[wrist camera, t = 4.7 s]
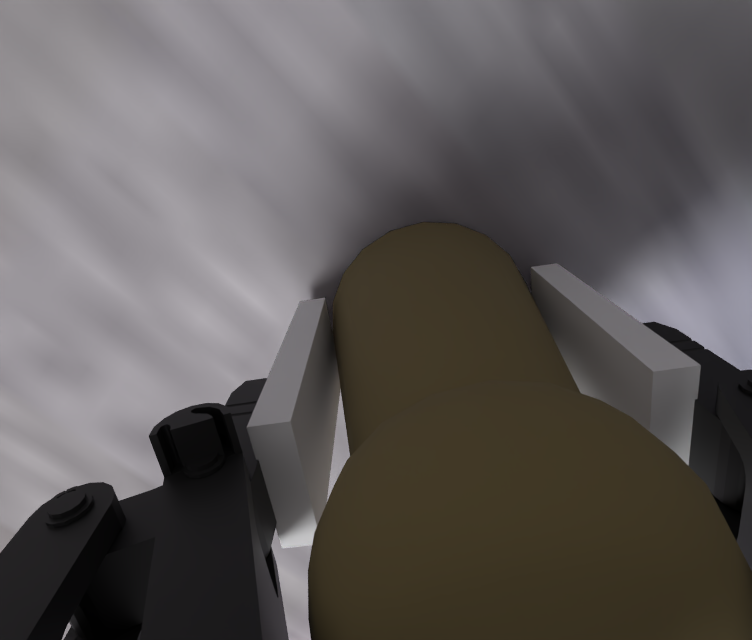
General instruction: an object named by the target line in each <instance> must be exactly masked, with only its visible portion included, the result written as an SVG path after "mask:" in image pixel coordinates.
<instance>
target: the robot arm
mask: <svg viewBox="0 0 752 640" xmlns="http://www.w3.org/2000/svg"><path fill="white" fill-rule="evenodd" d="M531 289H532V297H533V299H534V301H535V303H536V305H537V307H538V309H539V311H540V313H541V315H542V317H543V319H544V321H545V323H546V325H547V327H548V329H549V331H550V333H551V335H552V337H553V339H554V341H555V343H556V345H557V347H558V349H559V351H560V353H561V355H562V357H563V359H564V361H565V363H566V365H567V367H568V369H569V371H570V373H571V375H572V377H573V379H574V381H575V383H576V385H577V387H578V389H579V391H580V393H581V394H584V395H587V396H590V397H593V398H596V399H599V400H601V401H603V402H605V403H607V404H609V405H611V406H612V407H614V408H616V409H618V410H620V411H622V412H623V413H625V414H627V415H629V416H631V417H632V418H633V419H635V420H636V421H637V422H638V423H639V424H641V425H642V426H643V427H644V428H646V429H647V430H648V431H649V432H651V433H652V434H653V435H654V436H656V437H657V438H658V439H659V440H661V441H662V442H663V443H664V444H666V445H667V446H668V447H669V448H671V449H672V450H673V451H674V452H675V453H676V454H677V455H678V456H679V457H680V458H681V459H682V460H683V461H684V462H685V463H686V464H687V465H688V466H689V467H690V468H691V469H692V470H693V471H694V472H695V473H696V474H697V475H698V476H699V477H700V478H701V479H702V480H703V481H704V482H705V483H706V484H707V486H708V488H709V490H710V492H711V494H712V495H713V497H714V499H715V501H716V503H717V505H718V507H719V509H720V511H721V513H722V515H723V516H724V518H725V520H726V522H727V524H728V526H729V528H730V530H731V532H732V534H733V536H734V538H735V540H736V542H737V543H738V545H739V547H740V549H741V551H742V553H743V555H744V557H745V559H746V561H747V563H748V565H749V567H750V569H751V571H752V370H742V371H740V370H739V369H737V368H736V367H734V366H733V365H731V364H729V363H728V362H726V361H725V360H723V359H722V358H720V357H719V356H717V355H716V354H714V353H712V352H711V351H709V350H708V349H704V347H703V346H702V345H700V344H699V343H697V342H696V341H692V340H691V338H689V337H688V336H686V335H685V334H683V333H682V332H680V331H679V330H677V329H675V328H672V327H669V326H666V325H662V324H659V323H656V322H649V323H641V322H639V321H638V320H636V319H635V318H634V317H632V316H631V315H629V314H628V313H627V312H625V311H624V310H622V309H621V308H620V307H618V306H617V305H615V304H614V303H613V302H611V301H610V300H608V299H607V298H605V297H604V296H603V295H601V294H600V293H598V292H597V291H596V290H594V289H593V288H591V287H590V286H589V285H587V284H586V283H584V282H583V281H582V280H580V279H579V278H577V277H576V276H575V275H573V274H572V273H570V272H569V271H567V270H566V269H565V268H563V267H562V266H560V265H559V264H558V263H555V264H548V265H541V266H534V267H531ZM340 388H341V387H340V380H339V373H338V366H337V359H336V352H335V345H334V339H333V334H332V329H331V324H330V319H329V314H328V309H327V304H326V299H325V298H319V299H312V300H306V301H300V302H299V305H298V307H297V310H296V312H295V314H294V317H293V319H292V321H291V324H290V326H289V328H288V331H287V333H286V335H285V338H284V340H283V343H282V345H281V347H280V350H279V352H278V354H277V357H276V359H275V361H274V364H273V366H272V368H271V371H270V373H269V376H268V378H264V379H257V380H250V381H245V382H244V383H243V384H242V385H241V386H239V387H238V388H237V389H236V390H235V391H233V392H232V393H231V395H230V397H229V399H228V401H227V403H226V405H225V406H224V405H222V404H219V403H205V404H199V405H194V406H190V407H188V408H185V409H182V410H179V411H177V412H175V413H173V414H172V415H170V416H168V417H166V418H164V419H163V420H162V421H161V422H159V423H158V424H157V425H156V426H155V427H154V428H153V430H152V431H151V433H150V435H149V438H150V441H151V444H152V446H153V449H154V452H155V454H156V457H157V459H158V462H159V465H160V467H161V470H162V473H163V475H164V482H163V486H160V487H158V488H155V489H153V490H150V491H147V492H144V493H141V494H138V495H135V496H132V497H129V498H126V499H123V500H120V501H118V499H117V496H116V494H115V492H114V489H113V487H112V486H111V485H109V484H106V483H104V482H100V483H88V484H84V485H81V486H75V487H72V488H70V489H67V491H63V492H61V493H59V494H57V495H56V496H55V497H54V498H52V499H51V500H49V501H48V502H46V503H45V504H43V505H42V506H41V507H40V508H39V509H38V510H36V511H35V512H34V513H33V514H32V515H31V516H30V517H29V518H28V520H27V521H26V522H25V523H24V525H23V526H22V527H21V528H20V529H19V531H18V532H17V533H16V534H15V536H14V537H13V538H12V539H11V541H10V542H9V543H8V544H7V545H6V547H5V548H4V549H3V550H2V552H1V553H0V640H62V637H63V634H64V632H65V629H66V626H67V624H68V623H69V622H70V624H71V628H70V629H69V631H68V633H67V635H66V637H65V638H64V640H289V639H288V633H287V626H286V620H285V614H284V607H283V601H282V595H281V588H280V582H279V576H278V570H277V564H276V561H275V557H274V554H273V551H272V547H271V544H272V540H273V536H274V532H275V528H276V530H277V533H278V536H279V540H280V543H281V547H282V549H283V548H291V547H299V546H307V545H312V544H313V538H314V532H315V530H316V528H317V525H318V523H319V520H320V518H321V516H322V513H323V511H324V509H325V506H326V502H327V494H328V486H329V478H330V470H331V461H332V453H333V445H334V437H335V429H336V420H337V412H338V404H339V396H340Z"/></svg>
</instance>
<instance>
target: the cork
mask: <svg viewBox="0 0 752 640" xmlns="http://www.w3.org/2000/svg"><path fill="white" fill-rule="evenodd" d="M333 338H334V345H335V352H336V359H337V366H338V373H339V380H340V387H341V394H342V401H343V408H344V415H345V422H346V430H347V437H348V444H349V451H350V457H349V458H348V460H347V461H346V463H345V465H344V467H343V469H342V471H341V473H340V475H339V477H338V479H337V481H336V483H335V485H334V487H333V490H332V492H331V494H330V497H329V499H328V502H327V504H326V506H325V509H324V511H323V513H322V516H321V518H320V520H319V523H318V525H317V528H316V530H315V532H314V538H313V544H312V550H311V556H310V562H309V568H308V608H309V626H310V634H311V640H752V571H751V569H750V567H749V565H748V563H747V561H746V559H745V557H744V555H743V553H742V551H741V549H740V547H739V545H738V543H737V542H736V540H735V538H734V536H733V534H732V532H731V530H730V528H729V526H728V524H727V522H726V520H725V518H724V516H723V515H722V513H721V511H720V509H719V507H718V505H717V503H716V501H715V499H714V497H713V495H712V494H711V492H710V490H709V488H708V486H707V484H706V483H705V482H704V481H703V480H702V479H701V478H700V477H699V476H698V475H697V474H696V473H695V472H694V471H693V470H692V469H691V468H690V467H689V466H688V465H687V464H686V463H685V462H684V461H683V460H682V459H681V458H680V457H679V456H678V455H677V454H676V453H675V452H674V451H673V450H672V449H671V448H669V447H668V446H667V445H666V444H664V443H663V442H662V441H661V440H659V439H658V438H657V437H656V436H654V435H653V434H652V433H651V432H649V431H648V430H647V429H646V428H644V427H643V426H642V425H641V424H639V423H638V422H637V421H636V420H635V419H633V418H632V417H631V416H629V415H627V414H625V413H623V412H622V411H620V410H618V409H616V408H614V407H612V406H611V405H609V404H607V403H605V402H603V401H601V400H599V399H596V398H593V397H590V396H587V395H584V394H581V393H580V391H579V389H578V387H577V385H576V383H575V381H574V379H573V377H572V375H571V373H570V371H569V369H568V367H567V365H566V363H565V361H564V359H563V357H562V355H561V353H560V351H559V349H558V347H557V345H556V343H555V341H554V339H553V337H552V335H551V333H550V331H549V329H548V327H547V325H546V323H545V321H544V319H543V317H542V315H541V313H540V311H539V309H538V307H537V305H536V303H535V301H534V299H533V297H532V295H531V293H530V291H529V289H528V287H527V285H526V283H525V281H524V279H523V278H522V276H521V274H520V272H519V271H518V269H517V267H516V265H515V264H514V262H513V260H512V258H511V257H510V255H509V254H508V253H506V252H505V251H504V250H503V249H502V248H501V247H499V246H498V245H497V244H496V243H495V242H493V241H492V240H491V239H490V238H489V237H488V236H486V235H484V234H482V233H479V232H476V231H474V230H471V229H469V228H466V227H463V226H461V225H458V224H454V223H430V222H421V223H418V224H414V225H411V226H407V227H403V228H400V229H396V230H393V231H390V232H388V233H387V234H385V235H384V236H382V237H381V238H379V239H378V240H376V241H375V242H373V243H372V244H370V245H369V246H367V247H366V248H364V249H363V250H362V251H361V252H360V254H359V255H358V256H357V257H356V259H355V260H354V261H353V262H352V264H351V265H350V266H349V267H348V269H347V270H346V271H345V272H344V274H343V276H342V279H341V281H340V284H339V287H338V290H337V293H336V295H335V298H334V301H333Z"/></svg>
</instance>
